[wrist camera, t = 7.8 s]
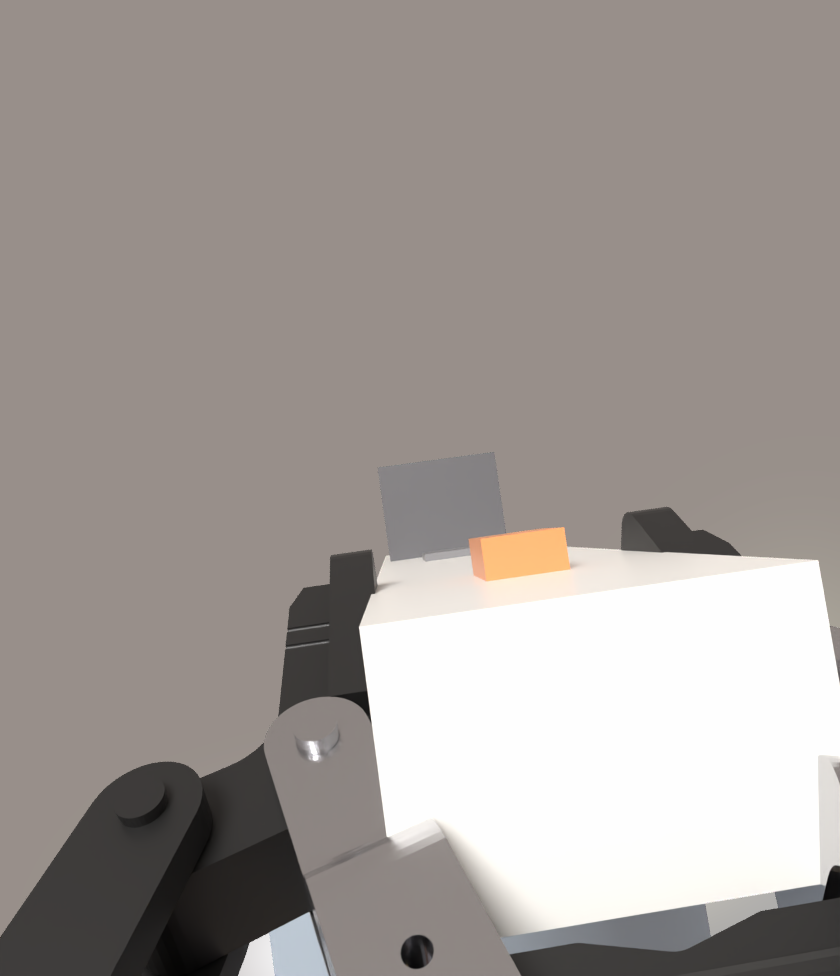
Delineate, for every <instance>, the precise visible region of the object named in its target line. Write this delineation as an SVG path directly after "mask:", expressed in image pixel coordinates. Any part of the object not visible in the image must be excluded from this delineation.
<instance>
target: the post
mask: <svg viewBox="0 0 840 976" xmlns="http://www.w3.org/2000/svg"><path fill="white" fill-rule="evenodd" d="M269 934H270V942H271V949H272V957H273V965H274V972H275V976H328V973H327V970H326V966H325V963H324V960H323V957H322V953H321V950H320V947H319V944H318V940H317V937H316V934H315V931H314V927H313V924H312V921H311V917H310V914H309V912H308V913H306V914H304V915H302V916H300V917H298V918H296V919H294V920H292V921H291V922H289V923H287V924H285V925H283V926H281V927H279V928H277V929H275V930H273V931H271V932H269ZM710 937H711V935H710V929H709V923H708V917H707V912H706V906H705V904H699V905H693V906H687V907H681V908H675V909H669V910H663V911H657V912H651V913H645V914H639V915H633V916H628V917H622V918H616V919H610V920H604V921H598V922H592V923H586V924H580V925H574V926H568V927H562V928H556V929H550V930H544V931H538V932H532V933H526V934H520V935H514V936H508V937H502V938H501V940H502V942H503V943H504V945H505V947H506V949H507V951H508V953H509V954H514V953H520V952H526V951H532V950H538V949H544V948H549V947H555V946H561V945H567V944H573V943H586V944H597V945H607V946H618V947H628V948H638V949H649V950H659V951H671V952H677V951H683V950H686V949H688V948H690V947H692V946H694V945H696V944H698V943H700V942H702V941H704V940H706V939H708V938H710Z"/></svg>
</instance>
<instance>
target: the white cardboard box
mask: <svg viewBox="0 0 840 976" xmlns="http://www.w3.org/2000/svg"><path fill="white" fill-rule="evenodd" d="M378 473H379V480H380V487H381V495H382V502H383V509H384V517H385V524H386V532H387V539H388V546H389V553H390V555H389V556H386V557H385V559H384V562H383V565H382V567H381V570H380V573H379V576H378V578H377V584H378V586H377V589H376V592H375V594H371V597H370V599H369V602H368V605H367V607H366V610H365V613H364V615H363V618H362V621H361V623H360V626H359V630H360V638H361V645H362V653H363V660H364V668H365V676H366V683H367V691H368V698H369V706H370V713H371V721H372V728H373V736H374V743H375V751H376V759H377V766H378V774H379V781H380V789H381V796H382V804H383V811H384V819H385V826H386V834H387V837H388V836H391V835H393V834H395V833H397V832H400V831H402V830H404V829H406V828H408V827H411V826H413V825H415V824H417V823H420V822H422V821H424V820H426V819H428V818H432V819H433V820H434V821H435V822H436V823H437V824H438V826H439V827H440V829H441V830H442V832H443V834H444V836H445V837H446V839H447V841H448V843H449V845H450V846H451V848H452V850H453V852H454V854H455V856H456V857H457V859H458V861H459V863H460V865H461V867H462V868H463V870H464V872H465V874H466V876H467V877H468V879H469V881H470V883H471V885H472V887H473V888H474V890H475V892H476V894H477V896H478V898H479V899H480V901H481V903H482V905H483V907H484V909H485V910H486V912H487V914H488V916H489V918H490V920H491V921H492V923H493V925H494V927H495V929H496V931H497V932H498V934H499V936H500V938H502V937H508V936H514V935H520V934H526V933H532V932H538V931H544V930H550V929H556V928H562V927H568V926H574V925H580V924H586V923H592V922H598V921H604V920H610V919H616V918H622V917H628V916H633V915H639V914H645V913H651V912H657V911H663V910H669V909H675V908H681V907H687V906H693V905H699V904H705V903H710V902H717V901H723V900H728V899H735V898H741V897H747V896H753V895H759V894H764V893H770V892H776V891H782V890H788V889H794V888H800V887H806V886H812V885H818V884H820V841H819V796H818V756H819V755H831V756H840V683H839V678H838V672H837V666H836V660H835V655H834V649H833V643H832V637H831V632H830V626H829V621H828V615H827V609H826V603H825V598H824V592H823V586H822V580H821V575H820V569H819V563H818V560H803V559H784V558H766V557H746V556H728V555H710V554H691V553H672V552H664V553H658V552H641V551H623V550H616V549H596V548H579V547H567V545H566V538H565V532H564V527H562V528H545V529H535V530H529V531H521V532H514V533H506V529H505V523H504V516H503V509H502V502H501V495H500V489H499V482H498V475H497V469H496V462H495V455H494V452H490V453H483V454H476V455H468V456H461V457H454V458H446V459H439V460H431V461H423V462H416V463H409V464H401V465H394V466H386V467H379V468H378Z"/></svg>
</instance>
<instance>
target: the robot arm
mask: <svg viewBox="0 0 840 976" xmlns="http://www.w3.org/2000/svg"><path fill="white" fill-rule="evenodd" d="M621 550H623V551H641V552H658V553H664V552H672V553H691V554H710V555H728V556H741V555H740V554H739V553H738V552H737V551H736V550H735V549H734V548H733V547H732V546H731V544H729V543H728V542H726V541H724V540H722V539H720V538H718V537H716V536H714V535H712V534H710V533H708V532H706V531H704V530H698V531H691V530H690V528H688V527H687V525H686V524H685V523H684V522H683V521H682V520H681V519H680V518H679V516H678V515H677V514H676V513H675V512H674V511H673V510H672V509H671V508H669V507H663V508H656V509H649V510H641V511H634V512H628V513H626V514H625V515H624V517H623V521H622V538H621ZM377 586H378V584H377V578H376V572H375V565H374V558H373V553H372V550H365V551H358V552H351V553H344V554H337V555H331V557H330V584H328V585H321V586H314V587H307V588H303V590H302V591H301V593H300V594H299V595H298V597H297V598H296V600H295V601H294V602H293V604H292V605H291V606H290V609H289V620H288V632H287V640H286V650H285V658H284V668H283V679H282V687H281V697H280V707H279V715H278V718H277V719H276V720H275V721H274V722H273V723H272V725H271V726H270V727H269V730H268V731H267V733H266V736H265V740H264V743H263V744H262V745H261V746H260V747H259V748H258V749H257V750H256V751H254V752H253V753H251V754H250V755H249V756H247V757H246V758H244V759H242V760H241V761H239V762H237V763H235V764H232V765H230V766H228V767H226V768H223V769H221V770H219V771H216V772H214V773H212V774H209V775H207V776H205V777H202V778H199V776H198V774H196V772H195V771H194V770H193V769H191V768H189V767H188V766H186V765H184V764H181V763H176V762H158V763H152V764H148V765H144V766H141V767H139V768H136V769H134V770H132V771H130V772H128V773H126V774H124V775H122V776H121V777H119V778H118V779H116V780H115V781H114V782H112V783H111V784H110V785H109V786H107V787H106V788H105V789H104V790H103V791H102V792H101V793H100V794H99V795H98V797H97V798H96V799H95V800H94V802H93V803H92V804H91V806H90V807H89V809H88V810H87V812H86V813H85V815H84V816H83V817H82V819H81V820H80V822H79V823H78V825H77V826H76V828H75V829H74V831H73V832H72V833H71V835H70V836H69V838H68V839H67V841H66V842H65V844H64V845H63V847H62V848H61V850H60V851H59V852H58V854H57V855H56V857H55V858H54V860H53V861H52V863H51V864H50V866H49V867H48V869H47V870H46V871H45V873H44V874H43V876H42V877H41V879H40V880H39V882H38V883H37V885H36V886H35V887H34V889H33V891H32V892H31V893H30V895H29V896H28V898H27V899H26V901H25V902H24V903H23V905H22V906H21V908H20V909H19V911H18V912H17V914H16V915H15V917H14V918H13V919H12V921H11V922H10V924H9V925H8V927H7V928H6V930H5V931H4V933H3V934H2V935H1V937H0V976H238V974H239V971H240V968H241V965H242V963H243V961H244V958H245V955H246V952H247V949H248V945H249V943H250V942H251V941H254V940H255V939H257V938H259V937H261V936H263V935H265V934H267V933H269V932H271V931H273V930H275V929H277V928H279V927H281V926H283V925H285V924H287V923H289V922H291V921H292V920H294V919H296V918H298V917H300V916H302V915H304V914H306V913H308V912H309V914H310V917H311V921H312V924H313V927H314V931H315V934H316V937H317V940H318V944H319V947H320V950H321V953H322V957H323V960H324V963H325V966H326V970H327V973H328V976H840V756H831V755H819V756H818V796H819V841H820V884H818V885H812V886H806V887H800V888H794V889H788V890H782V891H776V892H775V895H776V899H777V904H778V908H777V909H771V910H765V911H760V912H758V913H756V914H754V915H752V916H750V917H749V918H747V919H745V920H743V921H741V922H739V923H737V924H735V925H733V926H731V927H729V928H727V929H725V930H723V931H721V932H719V933H718V934H716V935H714V936H712V937H710V938H708V939H706V940H704V941H702V942H700V943H698V944H696V945H694V946H692V947H690V948H688V949H686V950H683V951H677V952H671V951H659V950H649V949H638V948H628V947H618V946H607V945H597V944H586V943H573V944H567V945H561V946H555V947H549V948H544V949H538V950H532V951H526V952H520V953H514V954H509V953H508V951H507V949H506V947H505V945H504V943H503V942H502V940H501V938H500V936H499V934H498V932H497V931H496V929H495V927H494V925H493V923H492V921H491V920H490V918H489V916H488V914H487V912H486V910H485V909H484V907H483V905H482V903H481V901H480V899H479V898H478V896H477V894H476V892H475V890H474V888H473V887H472V885H471V883H470V881H469V879H468V877H467V876H466V874H465V872H464V870H463V868H462V867H461V865H460V863H459V861H458V859H457V857H456V856H455V854H454V852H453V850H452V848H451V846H450V845H449V843H448V841H447V839H446V837H445V836H444V834H443V832H442V830H441V829H440V827H439V826H438V824H437V823H436V822H435V821H434V820H433V819H432V818H428V819H426V820H424V821H422V822H420V823H417V824H415V825H413V826H411V827H408V828H406V829H404V830H402V831H400V832H397V833H395V834H393V835H391V836H388V837H387V834H386V826H385V819H384V811H383V804H382V796H381V789H380V781H379V774H378V766H377V759H376V751H375V743H374V736H373V728H372V721H371V713H370V706H369V698H368V691H367V683H366V676H365V668H364V660H363V653H362V645H361V638H360V630H359V626H360V623H361V621H362V618H363V615H364V613H365V610H366V607H367V605H368V602H369V599H370V597H371V594H375V592H376V589H377ZM830 632H831V637H832V643H833V649H834V655H835V660H836V666H837V672H838V678H839V683H840V628H837V627H833V626H830Z"/></svg>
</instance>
